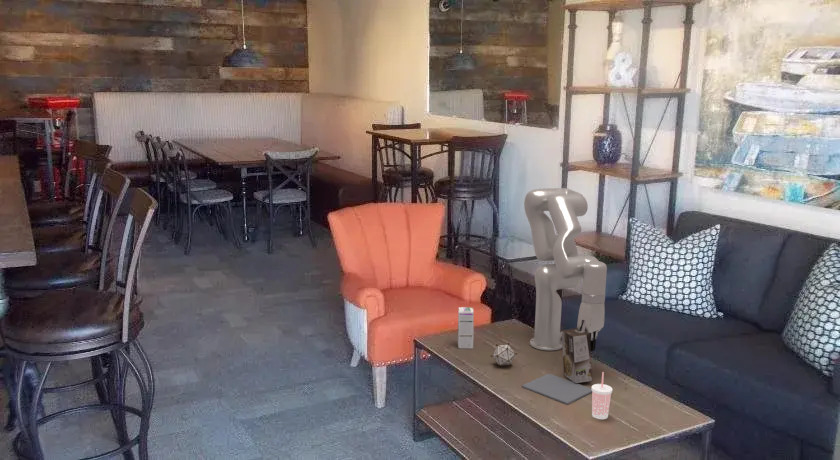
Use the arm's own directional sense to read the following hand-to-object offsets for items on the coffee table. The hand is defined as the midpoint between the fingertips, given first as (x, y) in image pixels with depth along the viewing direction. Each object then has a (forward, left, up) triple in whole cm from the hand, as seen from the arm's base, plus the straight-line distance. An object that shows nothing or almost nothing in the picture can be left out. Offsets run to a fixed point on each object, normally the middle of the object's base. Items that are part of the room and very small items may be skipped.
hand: (589, 349), depth 247 cm
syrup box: (+11, -47, -9) cm, 49 cm away
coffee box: (+6, 0, -9) cm, 11 cm away
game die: (+15, -25, -10) cm, 31 cm away
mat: (+17, 0, -9) cm, 20 cm away
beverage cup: (+24, +20, -9) cm, 33 cm away
